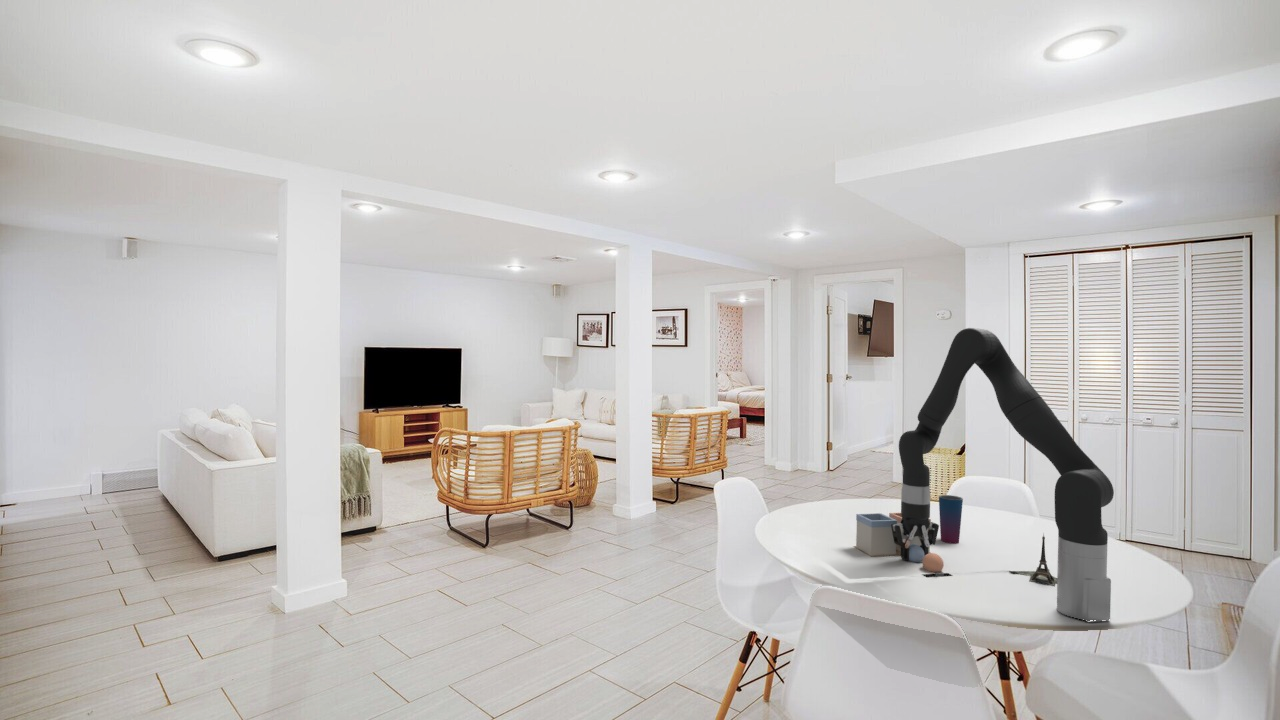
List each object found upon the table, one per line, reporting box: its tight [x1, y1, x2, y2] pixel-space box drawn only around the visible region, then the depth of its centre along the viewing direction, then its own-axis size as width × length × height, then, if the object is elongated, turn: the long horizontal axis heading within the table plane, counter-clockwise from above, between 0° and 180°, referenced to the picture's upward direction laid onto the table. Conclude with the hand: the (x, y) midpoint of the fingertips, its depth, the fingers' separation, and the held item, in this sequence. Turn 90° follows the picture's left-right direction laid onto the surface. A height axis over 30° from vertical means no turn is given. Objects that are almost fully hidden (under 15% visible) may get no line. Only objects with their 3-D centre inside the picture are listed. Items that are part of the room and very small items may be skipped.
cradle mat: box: [914, 561, 954, 578], centre depth 171 cm, size 14×8×1 cm, turn 11°
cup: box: [938, 494, 964, 544], centre depth 194 cm, size 7×7×15 cm
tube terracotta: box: [888, 512, 932, 553], centre depth 185 cm, size 8×8×10 cm
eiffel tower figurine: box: [1009, 532, 1057, 587], centre depth 163 cm, size 15×10×13 cm
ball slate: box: [908, 544, 925, 563], centre depth 175 cm, size 5×5×5 cm
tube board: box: [852, 545, 929, 558], centre depth 184 cm, size 10×20×1 cm, turn 101°
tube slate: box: [855, 512, 897, 556], centre depth 183 cm, size 8×8×10 cm
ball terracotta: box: [921, 552, 945, 573], centre depth 167 cm, size 5×5×5 cm
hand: (914, 559), depth 175 cm, fingers closed on ball slate, 5 cm apart
